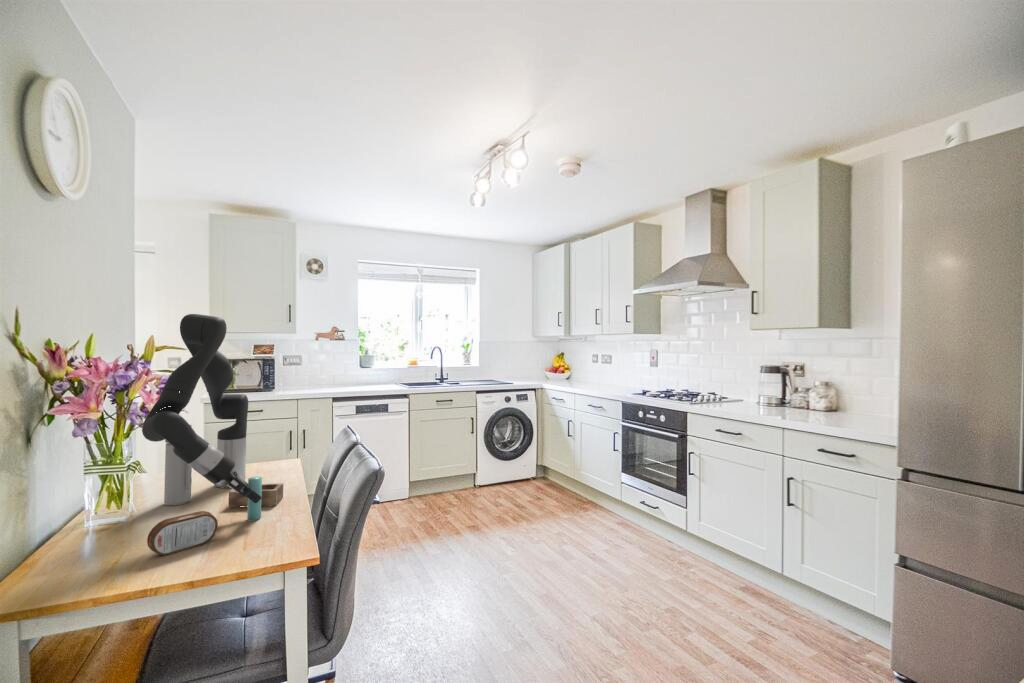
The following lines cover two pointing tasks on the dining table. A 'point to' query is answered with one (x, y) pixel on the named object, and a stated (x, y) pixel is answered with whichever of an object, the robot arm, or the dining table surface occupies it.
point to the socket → (269, 497)
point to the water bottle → (176, 478)
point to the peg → (253, 508)
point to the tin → (182, 532)
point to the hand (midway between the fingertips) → (255, 496)
